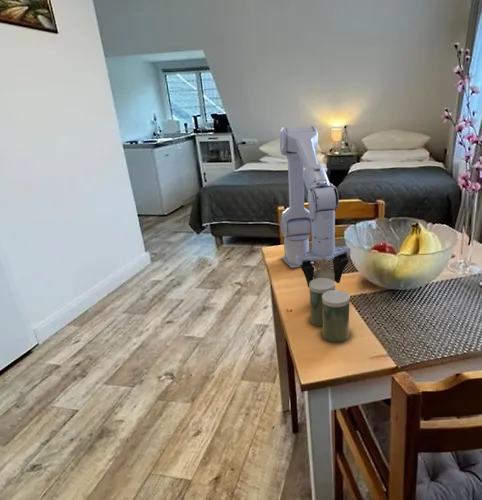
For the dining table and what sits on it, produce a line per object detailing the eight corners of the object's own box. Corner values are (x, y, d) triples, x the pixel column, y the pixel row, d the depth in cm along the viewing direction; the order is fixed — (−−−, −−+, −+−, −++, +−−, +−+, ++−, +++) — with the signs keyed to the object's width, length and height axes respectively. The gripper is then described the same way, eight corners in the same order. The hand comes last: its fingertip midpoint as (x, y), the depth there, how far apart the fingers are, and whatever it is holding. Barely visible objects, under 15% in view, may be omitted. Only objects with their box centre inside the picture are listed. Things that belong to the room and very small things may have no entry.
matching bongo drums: (306, 316, 96) (305, 280, 92) (328, 311, 98) (328, 275, 94) (329, 345, 85) (329, 305, 81) (354, 338, 87) (354, 299, 83)
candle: (327, 310, 99) (326, 274, 95) (309, 304, 102) (308, 269, 98) (338, 301, 103) (338, 267, 99) (321, 295, 106) (321, 262, 102)
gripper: (302, 245, 89) (304, 296, 94) (357, 235, 94) (355, 285, 99) (291, 236, 95) (293, 285, 101) (343, 227, 100) (342, 274, 106)
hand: (323, 284), depth 100 cm, fingers open, 7 cm apart
